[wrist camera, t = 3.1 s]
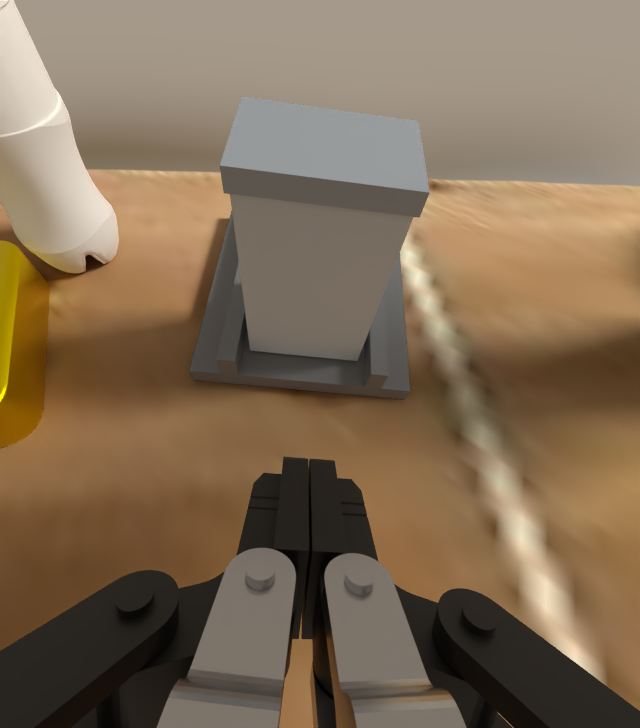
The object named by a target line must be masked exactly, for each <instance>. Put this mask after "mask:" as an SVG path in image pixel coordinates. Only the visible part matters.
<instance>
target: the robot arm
mask: <svg viewBox="0 0 640 728" xmlns="http://www.w3.org/2000/svg"><path fill="white" fill-rule="evenodd" d="M301 614H302V639H313V661H312V669H311V676H310V685H311V698H312V712H313V725H314V728H512V727H511V726H510V725H509V724H508V723H507V722H506V721H505V720H504V719H503V718H502V717H501V716H500V715H499V714H498V713H500V714H501V715H502V716H503V717H504V718H505V719H506V720H507V721H508V722H509V723H510V724H511V725H512V726H513V727H514V728H640V711H639V710H637V709H636V708H635V707H633V706H632V705H631V704H629V703H628V702H627V701H625V700H624V699H623V698H621V697H620V696H619V695H617V694H616V693H615V692H613V691H612V690H611V689H609V688H608V687H607V686H605V685H604V684H603V683H601V682H600V681H599V680H598V679H596V678H595V677H594V676H592V675H591V674H590V673H588V672H587V671H586V670H584V669H583V668H582V667H580V666H579V665H578V664H576V663H575V662H574V661H572V660H571V659H570V658H568V657H567V656H566V655H564V654H563V653H562V652H560V651H559V650H558V649H556V648H555V647H554V646H552V645H551V644H550V643H548V642H547V641H546V640H544V639H543V638H542V637H540V636H539V635H538V634H536V633H535V632H534V631H532V630H531V629H530V628H528V627H527V626H526V625H524V624H523V623H522V622H520V621H519V620H518V619H516V618H515V617H514V616H512V615H511V614H510V613H508V612H507V611H506V610H504V609H503V608H502V607H500V606H499V605H498V604H497V603H495V602H494V601H492V600H491V599H489V598H488V597H486V596H484V595H482V594H480V593H478V592H475V591H472V590H469V589H451V590H449V591H447V592H445V593H444V594H443V595H442V596H441V598H440V600H439V602H438V603H436V602H433V601H430V600H428V599H425V598H422V597H419V596H416V595H413V594H411V593H408V592H406V591H405V590H403V589H401V588H399V587H398V586H397V585H395V584H394V582H393V580H392V577H391V575H390V574H389V572H388V571H387V569H386V568H385V567H384V566H383V565H382V564H380V563H379V562H378V558H377V554H376V550H375V546H374V542H373V538H372V533H371V529H370V525H369V521H368V517H367V513H366V509H365V506H364V500H363V496H362V492H361V490H360V489H359V488H358V486H357V485H356V484H355V483H354V482H353V481H352V479H341V478H337V474H336V467H335V461H333V460H320V459H310V461H309V468H308V459H305V458H292V457H284V459H283V468H282V474H271V473H263V474H262V475H261V476H260V477H259V478H258V479H257V480H256V481H255V482H254V484H253V489H252V493H251V498H250V501H249V506H248V510H247V514H246V518H245V522H244V527H243V531H242V535H241V539H240V543H239V548H238V552H237V555H236V557H234V558H233V559H232V560H231V562H230V563H229V564H228V566H227V568H226V570H225V572H223V573H222V574H221V575H219V576H217V577H216V578H214V579H212V580H209V581H207V582H204V583H200V584H196V585H192V586H188V587H183V588H179V589H178V586H177V584H176V582H175V581H174V579H173V578H172V577H170V576H169V575H168V574H165V573H163V572H160V571H154V570H144V571H138V572H134V573H131V574H128V575H126V576H123V577H121V578H119V579H118V580H116V581H114V582H112V583H111V584H109V585H107V586H106V587H104V588H103V589H101V590H99V591H98V592H96V593H94V594H93V595H91V596H90V597H88V598H86V599H85V600H83V601H81V602H80V603H78V604H77V605H75V606H73V607H72V608H70V609H68V610H67V611H65V612H63V613H62V614H60V615H59V616H57V617H55V618H54V619H52V620H50V621H49V622H47V623H46V624H44V625H42V626H41V627H39V628H37V629H36V630H34V631H32V632H31V633H29V634H28V635H26V636H24V637H23V638H21V639H19V640H18V641H16V642H15V643H13V644H11V645H10V646H8V647H6V648H5V649H3V650H1V651H0V728H279V723H280V714H281V706H282V697H283V689H284V680H285V677H286V675H287V672H288V669H289V664H290V656H291V647H292V639H299V631H300V623H301Z"/></svg>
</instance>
